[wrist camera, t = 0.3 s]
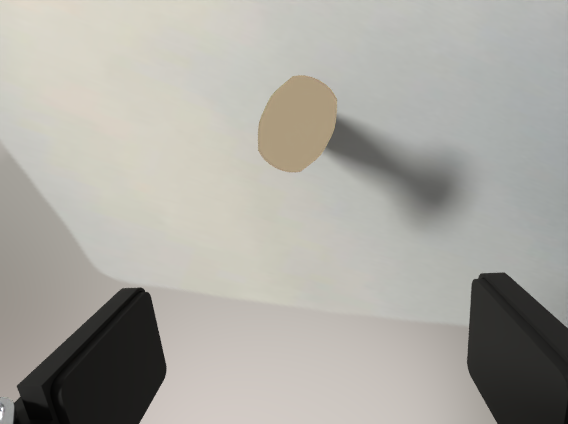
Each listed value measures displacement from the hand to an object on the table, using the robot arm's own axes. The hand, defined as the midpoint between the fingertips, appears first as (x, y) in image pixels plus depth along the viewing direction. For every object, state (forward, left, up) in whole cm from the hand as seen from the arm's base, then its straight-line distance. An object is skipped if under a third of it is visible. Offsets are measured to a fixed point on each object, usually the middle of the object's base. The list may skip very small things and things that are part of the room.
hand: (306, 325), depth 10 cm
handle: (-5, -1, -31) cm, 31 cm away
